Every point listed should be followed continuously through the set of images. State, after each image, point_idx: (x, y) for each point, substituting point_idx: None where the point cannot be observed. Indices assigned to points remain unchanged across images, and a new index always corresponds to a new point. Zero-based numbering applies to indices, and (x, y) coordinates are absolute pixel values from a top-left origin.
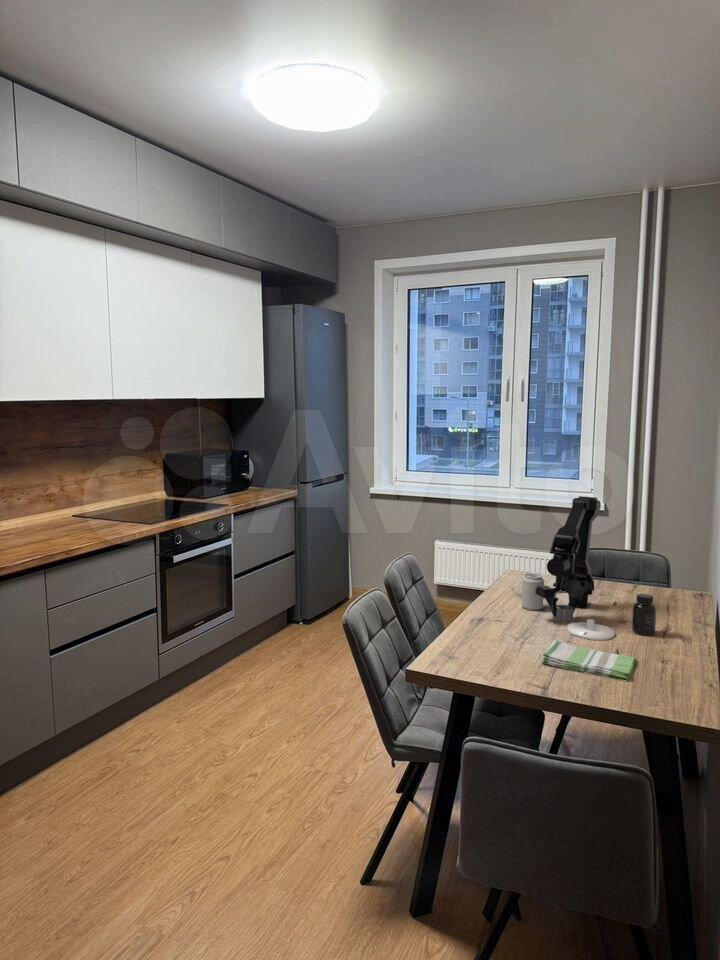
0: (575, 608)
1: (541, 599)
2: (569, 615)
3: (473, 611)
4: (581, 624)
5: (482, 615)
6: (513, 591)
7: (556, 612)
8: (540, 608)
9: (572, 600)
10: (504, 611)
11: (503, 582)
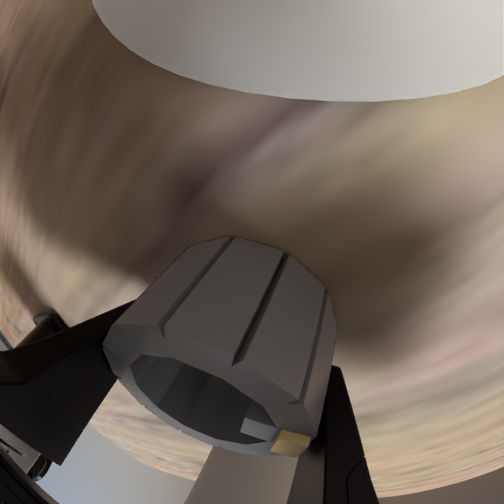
0: (89, 319)
1: (233, 481)
2: (221, 280)
3: (470, 477)
4: (263, 12)
5: (498, 459)
6: None
7: (321, 393)
8: None
9: (65, 400)
10: (409, 470)
11: (192, 479)
